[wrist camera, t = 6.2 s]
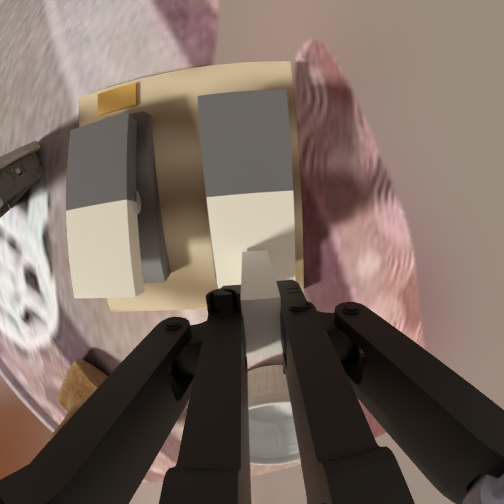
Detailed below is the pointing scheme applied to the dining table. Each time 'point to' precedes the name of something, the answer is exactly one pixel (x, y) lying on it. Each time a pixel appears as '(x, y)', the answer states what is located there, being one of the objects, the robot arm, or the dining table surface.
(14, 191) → the electrical switch
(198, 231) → the switch board
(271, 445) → the ramekin
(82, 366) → the tan piece
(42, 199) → the dining table surface
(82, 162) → the rocker
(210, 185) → the rocker
